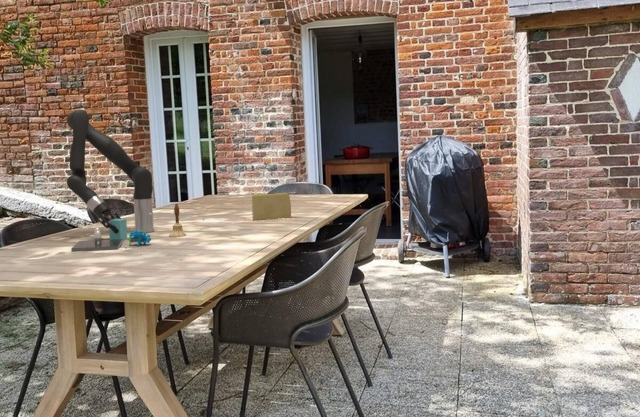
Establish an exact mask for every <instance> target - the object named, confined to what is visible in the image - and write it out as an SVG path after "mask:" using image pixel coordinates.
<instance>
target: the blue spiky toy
mask: <svg viewBox="0 0 640 417" xmlns="http://www.w3.org/2000/svg"><path fill="white" fill-rule="evenodd" d="M147 233H148V232H142V231H139V232H137V230H135V229H134V231H130V233H129V235H128V236H127V240H128V242H129V243H128V246H129V247H131V245H132V243H136V247H139V246H140V245H141V244H143V245H146V244H147V243H148V244H150V242H151V241H152V237H151V234H147Z"/></svg>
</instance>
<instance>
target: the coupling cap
mask: <svg viewBox="0 0 640 417" xmlns="http://www.w3.org/2000/svg"><path fill="white" fill-rule="evenodd" d="M111 222H112V223H113V226H115V227H116V228H117V229H118V230H119V232H118V233H117V234H115V233H114V232H113V231H112V229H109V228H108V231H109V232H108V233H109V240H112V239H123V241H126V240H128V223H127V218H121V219H113V220H111Z"/></svg>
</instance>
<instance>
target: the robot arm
mask: <svg viewBox="0 0 640 417" xmlns="http://www.w3.org/2000/svg"><path fill="white" fill-rule="evenodd" d="M66 123H67V125H68V128H70V129H71V130H73V131H72V132H73V134H72V135H73V136H72V143H71V148H70V151H69V169H70V170H71V173H72V174H71V175H70V176H69V177H67V179H66V185H67V187H68V189H69V190H71V191H72V192H73V193H74V194H75V195H77V196H78V197H79V198H80V200H82V201H83V202H84V204H85V205H87V207H88V208H89V210H90V211H91V212H92V213H93V214H94V215H95V216H96V218H98V220H97V221H98V222H99V223H100V224H101V225H103V226H104V227H105V228H106V229H108V230H109V229H112V231H113V232H114V233H115V234H117V233H118V232H119V230H118V229H117V228H116V227H115V226H113V223H112V222H111V220H113V219H122V218H121V216H120V215H119V213H117V212H115V213H113V212H111V209H112V208H111V207H110V206H109V205H108V204H107V203H106V201H105V200H103V198H102V197H101V196H99V195H98V194H97V192H95V191H94V190H93V188H90V187H89V186H88V185H87V175H86V174H87V173H86V170H85V169H86V168H85V164H86V163H85V162H86V161H85V160H86V158H85V157H86V142H87V141H88V143H89V144H91V146H93V147H94V148H95V149H96V150H97V151H98V152H99V153H100V154H101V155H102V156H103V157H104V158H106V159H107V160H109V161H110V162H111V163H112V164H113V165H114V166H116V167H118V168H119V169H120V170H122V171H123V173H125V175H126V176H127V177H128V178H129V179H130V180H131V181H132V182H133V183H134V190H133V191H134V193H133V210H134V211H133V214H134V231H135V230H137V232H139V231H142V233H144V232H146V233H151V232H154V231H155V230H154V229H155V227H154V226H155V224H154V212H153V198H152V197H153V196H152V195H153V175H152V172H151V171H150V170H149V169H147V168H144V167H142V166H141V165H139V164H138V163H136V161H134V160H133V159H132V158H131V157H130V156H129V154H128V153H127V152H126V151H125V149H124V148H123V147H122V146H121V145H120V144H119V143H118V142H116V140H114V139H113V138H112V137H111V136H109V135H107V134H106V133H103V132H102V131H99V130H98V129H96V128H95V127H94V126H93V125H92V124H91V123H90V116H89V114H88V112H87V111H85V110H84V109H76V110H74V111H72V112H70V113H69V114H68V115H67V116H66Z"/></svg>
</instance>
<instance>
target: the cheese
mask: <svg viewBox="0 0 640 417" xmlns="http://www.w3.org/2000/svg"><path fill="white" fill-rule="evenodd" d="M251 207H252V208H251V209H252V210H251V212H252V213H251V214H252V221H262V220H263V221H267V220H266V219H270V220H279V219H278V218H290V217H291V218H292V204H291V198H290V193H288V192H279V193H277V192H276V193H252V195H251ZM291 218H290V219H291Z"/></svg>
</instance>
